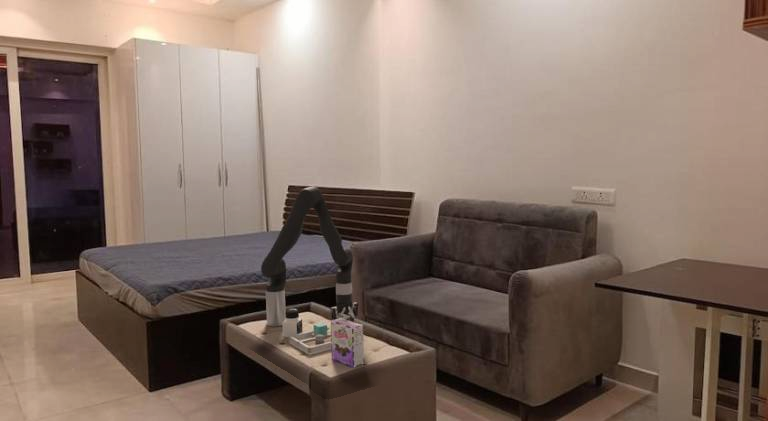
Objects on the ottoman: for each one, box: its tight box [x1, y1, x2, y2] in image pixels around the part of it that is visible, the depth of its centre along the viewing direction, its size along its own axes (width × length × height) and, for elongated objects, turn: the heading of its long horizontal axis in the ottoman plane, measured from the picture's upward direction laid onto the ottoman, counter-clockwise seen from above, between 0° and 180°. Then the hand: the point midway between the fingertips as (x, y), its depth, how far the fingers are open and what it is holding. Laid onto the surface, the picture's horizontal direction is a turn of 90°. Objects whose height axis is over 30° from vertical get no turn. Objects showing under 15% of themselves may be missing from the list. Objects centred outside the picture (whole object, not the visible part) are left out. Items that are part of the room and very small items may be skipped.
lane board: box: [288, 326, 332, 356], centre depth 244 cm, size 19×20×3 cm
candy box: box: [330, 317, 364, 369], centre depth 222 cm, size 14×6×16 cm, turn 45°
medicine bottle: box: [282, 308, 304, 338], centre depth 255 cm, size 7×7×12 cm
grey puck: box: [315, 334, 324, 344], centre depth 239 cm, size 4×4×3 cm
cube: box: [313, 322, 328, 335], centre depth 250 cm, size 4×4×4 cm
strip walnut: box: [304, 337, 331, 347], centre depth 241 cm, size 6×18×6 cm, turn 126°
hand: (345, 326), depth 257 cm, fingers open, 6 cm apart
